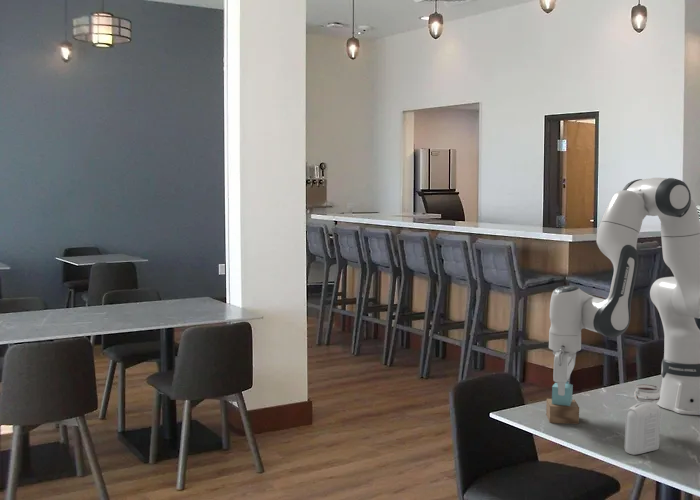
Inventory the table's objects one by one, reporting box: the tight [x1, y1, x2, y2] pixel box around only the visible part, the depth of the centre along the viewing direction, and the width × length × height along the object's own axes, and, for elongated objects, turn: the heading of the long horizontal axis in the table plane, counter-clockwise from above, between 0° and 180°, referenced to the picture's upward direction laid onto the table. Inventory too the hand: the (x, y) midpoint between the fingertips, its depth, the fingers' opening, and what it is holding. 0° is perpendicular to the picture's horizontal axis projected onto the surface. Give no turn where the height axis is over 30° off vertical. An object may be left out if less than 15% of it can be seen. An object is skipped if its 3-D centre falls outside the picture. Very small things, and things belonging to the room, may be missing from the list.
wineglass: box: [633, 383, 661, 404], centre depth 217 cm, size 7×7×12 cm
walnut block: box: [545, 398, 580, 425], centre depth 227 cm, size 8×8×5 cm
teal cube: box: [551, 382, 574, 406], centre depth 227 cm, size 5×5×5 cm
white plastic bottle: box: [624, 402, 662, 456], centre depth 200 cm, size 10×4×12 cm, turn 123°
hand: (563, 390), depth 227 cm, fingers open, 8 cm apart
